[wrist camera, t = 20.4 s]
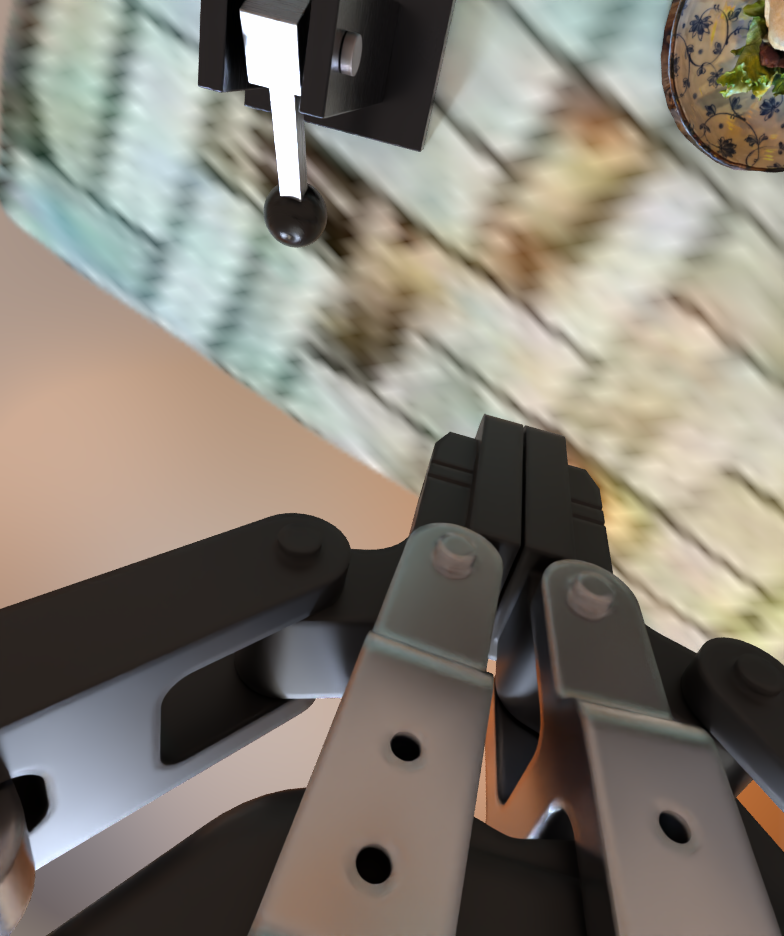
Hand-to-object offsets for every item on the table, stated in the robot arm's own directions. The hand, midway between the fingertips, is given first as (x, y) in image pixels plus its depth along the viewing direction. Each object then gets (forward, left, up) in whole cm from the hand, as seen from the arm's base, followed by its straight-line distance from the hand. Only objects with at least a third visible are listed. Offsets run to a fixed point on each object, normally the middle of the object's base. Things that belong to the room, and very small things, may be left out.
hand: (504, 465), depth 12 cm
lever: (+11, -2, -22) cm, 24 cm away
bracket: (+11, -5, -29) cm, 31 cm away
